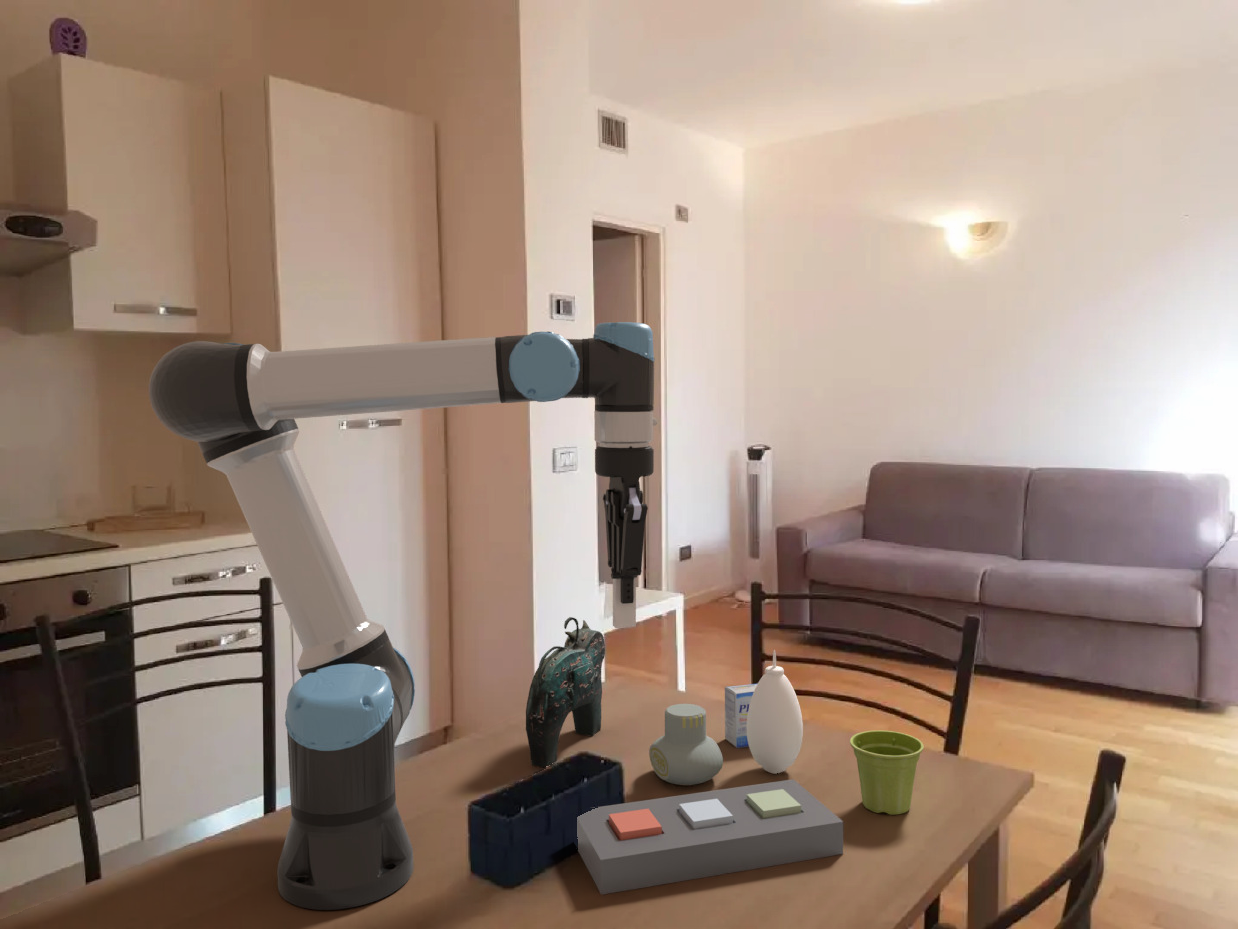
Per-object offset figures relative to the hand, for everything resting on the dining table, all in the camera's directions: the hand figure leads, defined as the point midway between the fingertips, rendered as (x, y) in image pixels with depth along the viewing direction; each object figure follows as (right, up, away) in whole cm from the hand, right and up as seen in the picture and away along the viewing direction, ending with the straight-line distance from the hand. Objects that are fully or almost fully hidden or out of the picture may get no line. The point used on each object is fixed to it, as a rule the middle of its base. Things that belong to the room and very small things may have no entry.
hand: (624, 626), depth 126 cm
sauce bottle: (+22, -24, +15) cm, 36 cm away
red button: (+1, -24, -11) cm, 27 cm away
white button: (+10, -24, -8) cm, 27 cm away
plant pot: (+35, -25, +3) cm, 43 cm away
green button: (+18, -24, -5) cm, 30 cm away
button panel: (+10, -26, -8) cm, 29 cm away
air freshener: (+9, -24, +13) cm, 29 cm away
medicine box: (+20, -23, +27) cm, 41 cm away
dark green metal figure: (-8, -23, +26) cm, 36 cm away
